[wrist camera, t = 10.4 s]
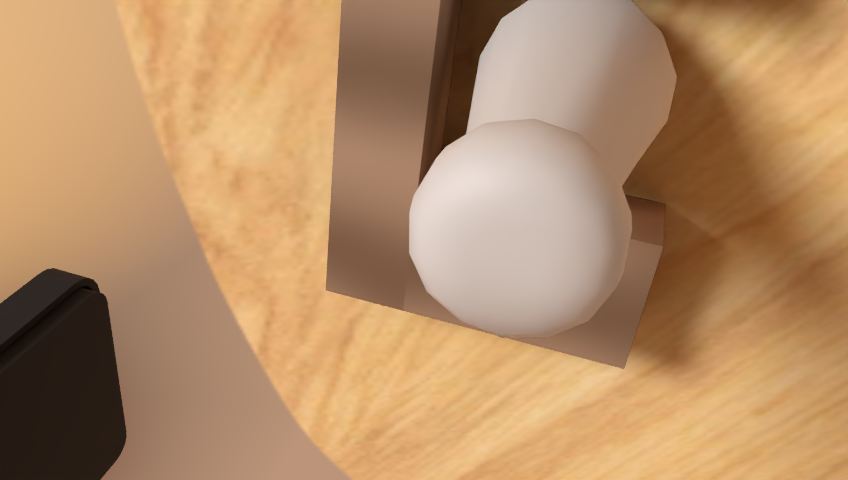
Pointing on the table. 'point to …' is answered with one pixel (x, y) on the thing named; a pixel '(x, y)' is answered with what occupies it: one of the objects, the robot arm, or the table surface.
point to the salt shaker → (543, 168)
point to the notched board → (410, 162)
